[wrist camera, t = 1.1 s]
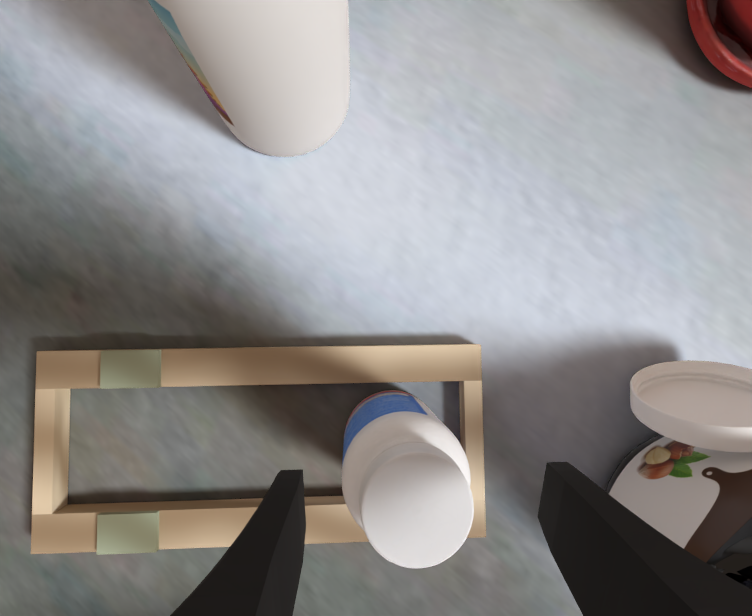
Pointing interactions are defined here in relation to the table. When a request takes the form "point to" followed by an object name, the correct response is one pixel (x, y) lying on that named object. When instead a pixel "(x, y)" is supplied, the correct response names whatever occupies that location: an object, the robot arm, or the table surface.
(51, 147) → the table surface
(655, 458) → the spread jar
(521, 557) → the table surface
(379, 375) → the open wooden frame
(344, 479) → the pill bottle
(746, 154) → the table surface
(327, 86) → the milk bottle
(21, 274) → the table surface
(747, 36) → the plant pot
